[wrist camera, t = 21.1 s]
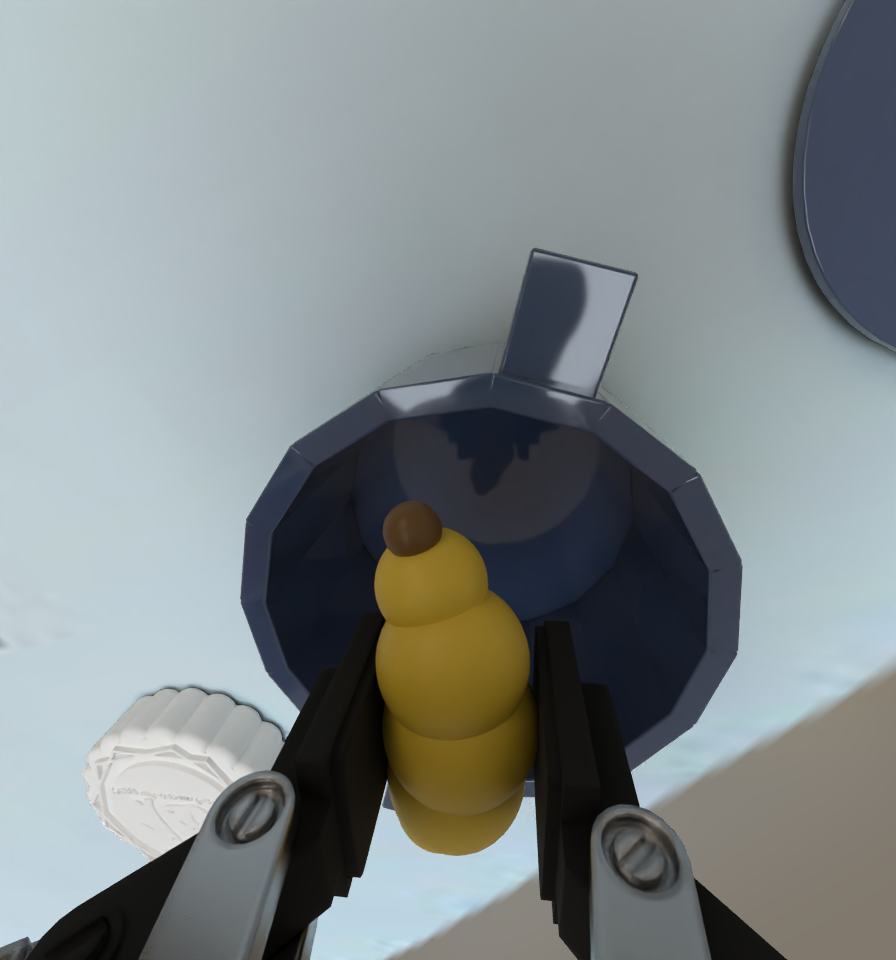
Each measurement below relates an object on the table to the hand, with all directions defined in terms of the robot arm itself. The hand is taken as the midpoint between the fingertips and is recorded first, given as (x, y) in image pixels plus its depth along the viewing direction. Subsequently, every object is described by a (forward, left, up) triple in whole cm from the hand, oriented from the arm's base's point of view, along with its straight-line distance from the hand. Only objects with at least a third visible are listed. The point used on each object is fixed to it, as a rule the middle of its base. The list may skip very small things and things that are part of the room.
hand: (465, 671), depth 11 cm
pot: (0, 0, -11) cm, 11 cm away
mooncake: (-6, -24, -11) cm, 27 cm away
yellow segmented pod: (0, 0, 0) cm, 0 cm away
